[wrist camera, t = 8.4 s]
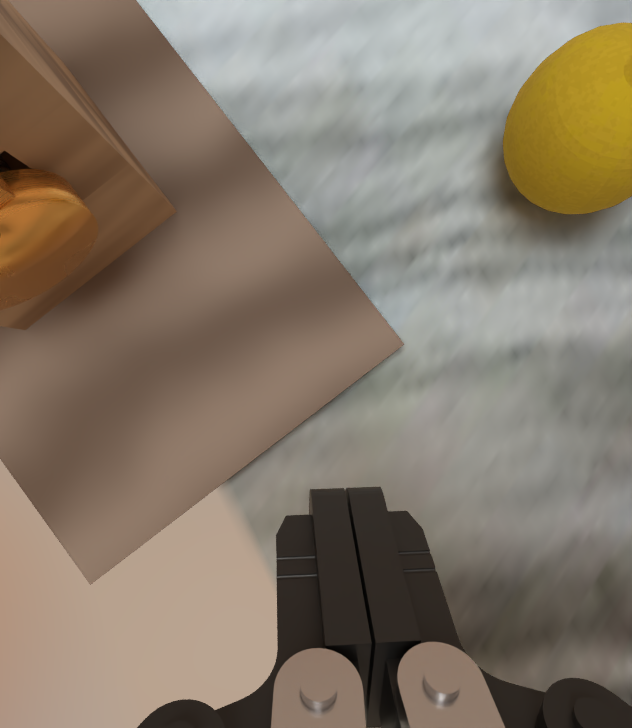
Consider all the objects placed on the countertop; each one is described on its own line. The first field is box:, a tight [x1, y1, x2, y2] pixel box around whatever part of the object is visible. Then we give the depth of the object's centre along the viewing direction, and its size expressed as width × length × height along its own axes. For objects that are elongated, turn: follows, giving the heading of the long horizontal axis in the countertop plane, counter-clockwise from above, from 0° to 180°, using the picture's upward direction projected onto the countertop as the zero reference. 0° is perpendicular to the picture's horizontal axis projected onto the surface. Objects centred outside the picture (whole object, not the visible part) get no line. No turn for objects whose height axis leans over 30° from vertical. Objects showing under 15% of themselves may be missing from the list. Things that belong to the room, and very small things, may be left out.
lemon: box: [503, 23, 632, 214], centre depth 19 cm, size 6×6×8 cm
